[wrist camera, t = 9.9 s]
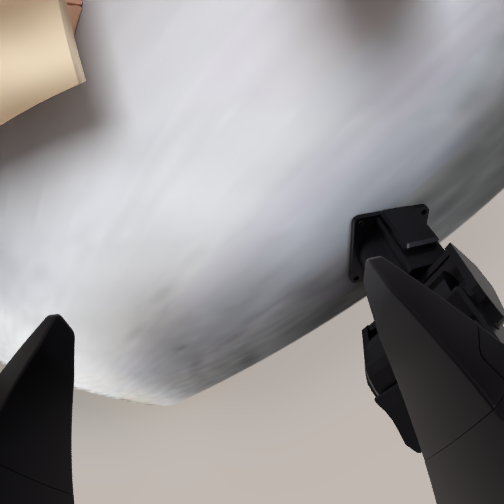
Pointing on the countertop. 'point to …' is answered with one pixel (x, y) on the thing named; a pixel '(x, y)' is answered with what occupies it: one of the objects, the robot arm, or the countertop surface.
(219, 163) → the countertop surface
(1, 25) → the board
